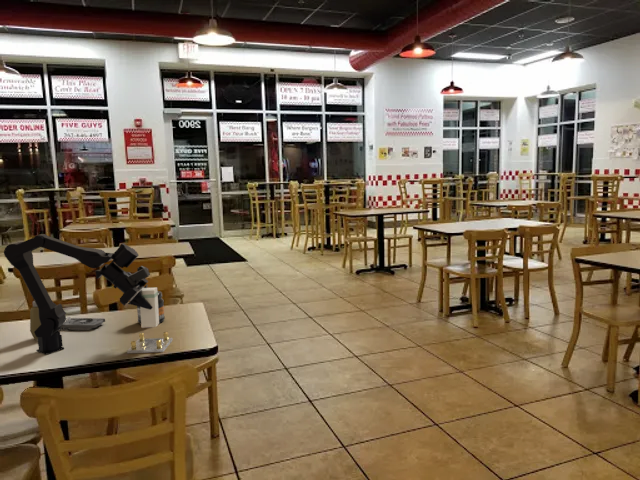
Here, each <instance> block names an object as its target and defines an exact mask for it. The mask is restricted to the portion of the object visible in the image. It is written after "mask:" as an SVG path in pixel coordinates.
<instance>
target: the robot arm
mask: <svg viewBox="0 0 640 480" xmlns="http://www.w3.org/2000/svg"><path fill="white" fill-rule="evenodd" d="M39 248H43V249H45V250H47V251H52V252H54V253H58V254H61V255H64V256H66V257H70V258H72V259H75V260H77V262H79V263H81V264H83V265H84V266H86V267H88V268H90V269H97V268H99V267H101V266H102V267H101V268H100V269H97V270H95V278H96V280H98V279H99V278H101V277H102V276H103V278H105V279H106V280H107V281H109V282H110V283H111V284H112V285H113V286H112V287H113V288H114V289H118V290H119V291H120V292H122V295H121V296H120V297H119V302H120V303H121V304H122V305H123V307H124V306H126V305H127V304H128V305H132V306H135V307H137V306H139V307H143V308H146V309H150V310H151V309H152V308H153V307H152V306H151V305H150V303H149V302H148V301H147V300H146V299H145V298H144V297H143V295H142V290H141V289H142V288H148V287H149V284H148V283H149V280H148V279H147V278H148V277H150V276H151V273H150V272H149V268H148V267H147V266H143V265H140V266H138V267H137V271H135V272H133V273H131V272H128V271H125V270H124V269H123V268H129V266H130V265H131V264H132V263H133V262H134V261H135V260H136V259H137V258H138V257H139V253H138V252H137V251H136V249H134V248H133V247H131V246H129V245H127V244H125V243H124V242H123V243H121V244H120V245H119V247H118V248H117V249H116V250H115V252H113V253H112V252H106V251H105V250H102V249H101V248H94V247H83V246H79V245H76V244H73V243H70V242H67V241H65V240H64V241H63V240H60V239H58V238H55V237H52V236H49V235H47V234H44V233H41V234H37V235H35V236H34V237H32V238H30V239H27V240H25V241H17V242H12V243H10V244H8V245H6V247H4V250H3V256H4V257H5V258H6V260H7V261H8V263H10V265H11V266H13V267H14V268H15V269H17V271H18V272H19V274H20V276H21V277H22V280H23V281H24V283H25V286H26V287H27V289H28V291H29V293H30V295H31V296H32V299H33V301H35V303H36V304H37V306H38V310H39V320H40V323H41V325H40V326H39V327H38V328H37V329H36V330H35V331H34V333H35V335H36V337H38V340H37V342H38V343H37V344H38V345H37V346H38V349H36V352H37V353H40V354H43V355H49V354H53V353H54V352H55V353H56V352H59V351H61V350H64V349H65V347H64V346H63V336H62V334H61V330H59V329H60V328H61V325H62V324H63V323H64V322H66V321H65V319H66V318H67V316H66V314H67V312H66V311H65V310H64V308H63V304H61V303H59V304H56V303H54V302H53V300H52V298H51V296H50V294H49V292H48V291H47V288H46V286H45V284H44V283H43V281H42V279H41V276H40V275H39V273H38V271H37V269H36V266H35V265H34V255H33V251H36V250H37V249H39ZM110 261H111V262H110ZM108 262H110V263H108ZM107 263H108V264H107ZM140 290H141V291H140ZM139 291H140V292H139ZM66 320H67V319H66ZM58 330H59V331H58Z"/></svg>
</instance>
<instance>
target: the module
mask: <svg viewBox="0 0 640 480" xmlns="http://www.w3.org/2000/svg"><path fill="white" fill-rule="evenodd" d="M141 290H142V295H143V297H144V298H145V299H146V300H147V301H148V302H149V303H150V305H151V306H152V307H153V308H152V309H151V310H150V309H146V308H143V307H140V312H141V324H140V325H141V328H142V329H144V328H157V326H158V325H159V324H160V323H159V311H158V291H159V290H158V287H147V288H142V289H141ZM141 290H140V291H141ZM140 291H139V292H140Z"/></svg>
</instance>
